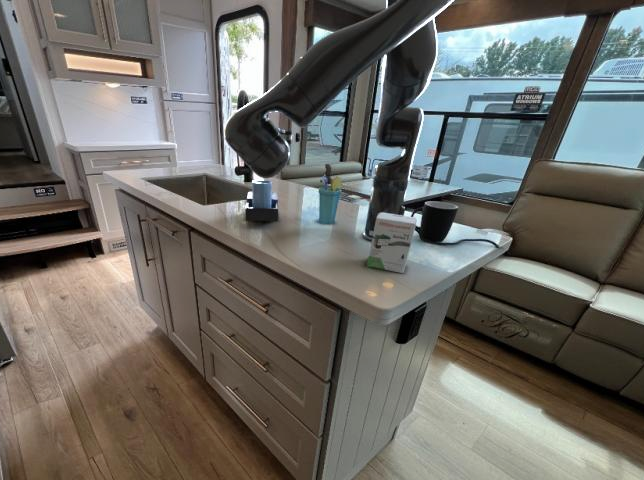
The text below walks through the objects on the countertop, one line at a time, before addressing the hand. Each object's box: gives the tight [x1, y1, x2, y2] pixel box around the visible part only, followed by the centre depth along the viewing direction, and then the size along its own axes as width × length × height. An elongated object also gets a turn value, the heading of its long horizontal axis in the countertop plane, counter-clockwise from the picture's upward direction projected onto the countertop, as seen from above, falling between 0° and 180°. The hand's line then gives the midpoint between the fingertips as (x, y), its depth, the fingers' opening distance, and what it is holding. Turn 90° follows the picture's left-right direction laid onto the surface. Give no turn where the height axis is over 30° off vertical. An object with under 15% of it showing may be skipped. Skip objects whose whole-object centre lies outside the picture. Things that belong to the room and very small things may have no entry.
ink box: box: [366, 213, 418, 274], centre depth 72 cm, size 9×5×12 cm, turn 69°
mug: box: [410, 200, 459, 243], centre depth 93 cm, size 12×9×10 cm
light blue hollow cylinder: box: [251, 179, 273, 208], centre depth 96 cm, size 6×6×10 cm
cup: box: [318, 176, 343, 225], centre depth 102 cm, size 14×8×15 cm, turn 151°
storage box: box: [245, 191, 279, 222], centre depth 103 cm, size 10×19×7 cm, turn 3°
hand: (261, 134), depth 77 cm, fingers open, 8 cm apart
